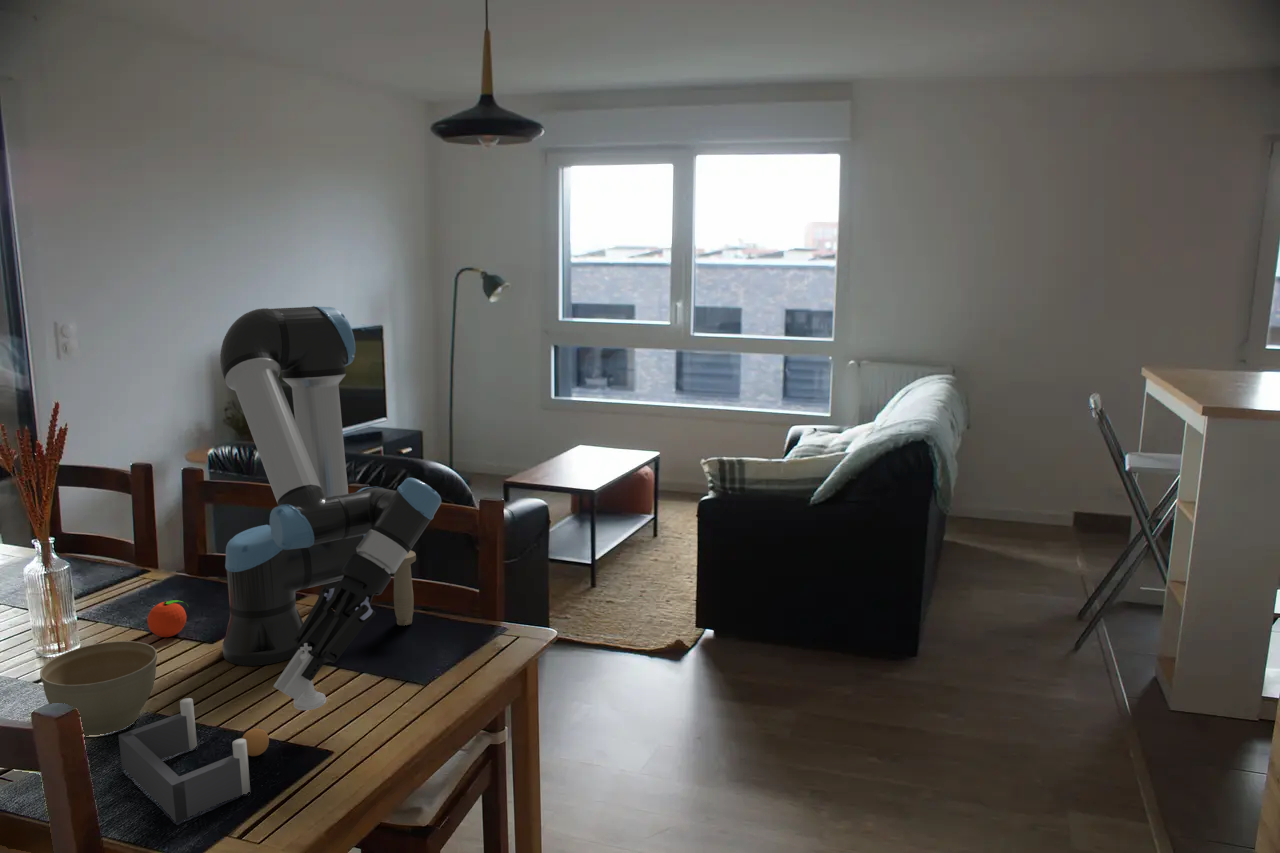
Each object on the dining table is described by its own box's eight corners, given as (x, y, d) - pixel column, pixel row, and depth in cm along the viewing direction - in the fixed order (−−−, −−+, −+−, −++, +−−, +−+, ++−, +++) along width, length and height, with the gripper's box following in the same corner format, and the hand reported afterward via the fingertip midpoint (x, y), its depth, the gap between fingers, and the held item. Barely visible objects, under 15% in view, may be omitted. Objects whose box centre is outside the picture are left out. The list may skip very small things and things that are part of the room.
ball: (235, 757, 140) (233, 733, 139) (257, 744, 143) (255, 721, 143) (254, 763, 138) (252, 739, 137) (275, 751, 142) (273, 727, 141)
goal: (194, 744, 143) (189, 696, 142) (252, 793, 131) (248, 741, 129) (122, 772, 136) (116, 722, 134) (176, 826, 123) (171, 772, 122)
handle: (402, 631, 186) (399, 560, 183) (386, 622, 191) (382, 552, 188) (423, 624, 190) (420, 554, 187) (406, 615, 194) (403, 547, 191)
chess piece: (298, 696, 148) (293, 637, 147) (329, 695, 149) (325, 636, 147) (289, 711, 144) (284, 650, 142) (321, 709, 144) (317, 649, 142)
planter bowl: (82, 761, 138) (74, 694, 136) (27, 731, 147) (19, 668, 145) (183, 716, 152) (177, 654, 150) (128, 691, 160) (122, 632, 158)
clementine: (181, 624, 189) (178, 591, 187) (200, 632, 185) (197, 598, 184) (142, 637, 182) (138, 603, 181) (160, 646, 178) (156, 611, 177)
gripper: (415, 585, 149) (327, 719, 140) (363, 565, 159) (278, 688, 150) (384, 562, 145) (292, 699, 135) (333, 542, 155) (243, 668, 145)
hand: (285, 693), depth 143 cm, fingers closed on chess piece, 2 cm apart
